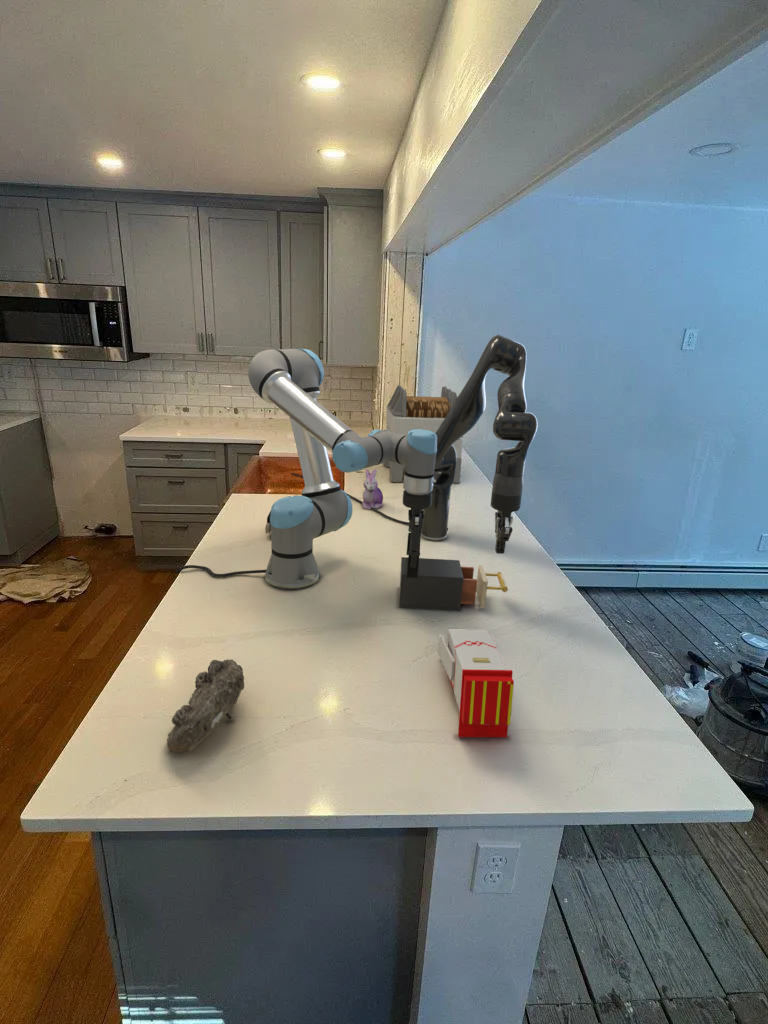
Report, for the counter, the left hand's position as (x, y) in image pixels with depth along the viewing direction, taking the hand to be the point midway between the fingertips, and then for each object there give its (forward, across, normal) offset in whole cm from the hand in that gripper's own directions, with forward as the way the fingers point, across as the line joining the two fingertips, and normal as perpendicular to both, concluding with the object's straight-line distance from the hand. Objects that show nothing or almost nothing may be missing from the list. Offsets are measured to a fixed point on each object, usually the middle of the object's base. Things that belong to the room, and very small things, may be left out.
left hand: (411, 565), depth 153 cm
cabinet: (+10, 0, -5) cm, 11 cm away
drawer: (+9, 0, -15) cm, 18 cm away
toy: (+9, -40, -12) cm, 43 cm away
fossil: (+10, -52, +38) cm, 65 cm away
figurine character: (+11, +42, +45) cm, 63 cm away
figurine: (+11, +74, +14) cm, 77 cm away
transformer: (+11, +126, -6) cm, 127 cm away
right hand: (-6, 0, -23) cm, 24 cm away
